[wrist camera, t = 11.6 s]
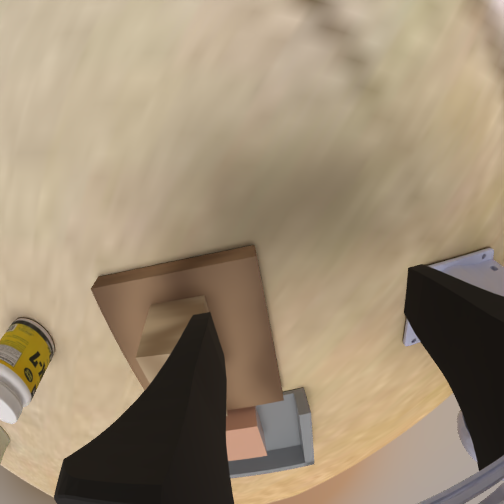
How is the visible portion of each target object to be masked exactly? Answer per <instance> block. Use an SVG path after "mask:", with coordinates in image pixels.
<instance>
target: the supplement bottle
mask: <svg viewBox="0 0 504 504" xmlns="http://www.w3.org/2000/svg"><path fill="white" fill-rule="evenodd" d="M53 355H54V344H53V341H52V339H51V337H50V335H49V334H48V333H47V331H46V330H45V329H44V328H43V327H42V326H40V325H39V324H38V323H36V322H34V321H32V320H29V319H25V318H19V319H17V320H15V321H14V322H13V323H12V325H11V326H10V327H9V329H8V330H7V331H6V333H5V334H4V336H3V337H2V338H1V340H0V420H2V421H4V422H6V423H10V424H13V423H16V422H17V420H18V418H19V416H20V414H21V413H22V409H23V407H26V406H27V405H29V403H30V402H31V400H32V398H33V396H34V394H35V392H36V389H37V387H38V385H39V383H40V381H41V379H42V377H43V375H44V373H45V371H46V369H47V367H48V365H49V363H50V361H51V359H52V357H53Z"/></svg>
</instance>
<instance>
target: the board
mask: <svg viewBox="0 0 504 504" xmlns="http://www.w3.org/2000/svg"><path fill="white" fill-rule="evenodd" d="M91 290H92V292H93V295H94V297H95V299H96V301H97V303H98V305H99V307H100V309H101V312H102V314H103V316H104V318H105V320H106V322H107V324H108V326H109V328H110V330H111V332H112V334H113V335H114V337H115V339H116V341H117V343H118V345H119V347H120V349H121V350H122V352H123V354H124V356H125V358H126V359H127V361H128V363H129V365H130V367H131V368H132V370H133V372H134V373H135V375H136V377H137V379H138V380H139V382H140V384H141V385H142V387H143V388H144V390H146V388H147V387H148V386H149V385H150V383H149V381H148V380H147V378H146V376H145V374H144V372H143V371H142V369H141V367H140V365H139V363H138V361H137V359H136V354H137V351H138V347H139V343H140V340H141V336H142V333H143V329H144V326H145V323H146V319H147V316H148V312H149V309H150V306H151V304H157V303H163V302H169V301H175V300H180V299H186V298H192V297H198V296H203V295H204V296H205V299H206V302H207V306H208V309H209V312H211V316H212V319H213V322H214V325H215V328H216V331H217V334H218V338H219V341H220V344H221V347H222V350H223V353H224V358H225V367H226V377H227V410H233V409H239V408H246V407H252V406H257V405H263V404H268V403H274V402H279V401H284V398H283V392H282V387H281V381H280V376H279V371H278V365H277V360H276V355H275V349H274V344H273V339H272V333H271V328H270V323H269V317H268V312H267V307H266V302H265V296H264V291H263V286H262V280H261V275H260V270H259V265H258V259H257V255H256V250H255V246H254V245H252V246H247V247H242V248H237V249H232V250H227V251H222V252H217V253H212V254H207V255H202V256H197V257H192V258H187V259H183V260H178V261H173V262H168V263H163V264H158V265H153V266H148V267H144V268H139V269H134V270H129V271H124V272H119V273H115V274H110V275H105V276H100V277H98V278H97V280H96V281H95V283H94V285H93V286H92V288H91Z"/></svg>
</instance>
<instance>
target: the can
mask: <svg viewBox="0 0 504 504" xmlns="http://www.w3.org/2000/svg"><path fill="white" fill-rule="evenodd" d="M9 442H10V439H9V436H8V435H7V433H6V432H5V431H4V430H3V429H2V428H1V427H0V463H1V460H2V457H3V455H4V452H5V450H6V447H7V445H8V444H9Z"/></svg>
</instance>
